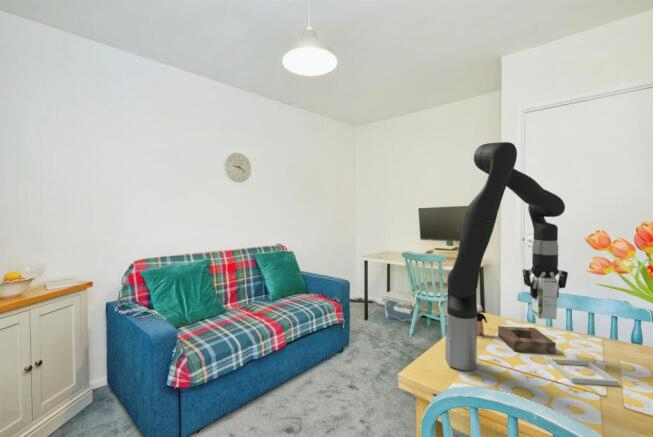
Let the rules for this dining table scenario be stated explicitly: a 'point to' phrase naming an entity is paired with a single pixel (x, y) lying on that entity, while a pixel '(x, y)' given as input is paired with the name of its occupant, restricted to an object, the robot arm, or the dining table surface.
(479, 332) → the grandmother figurine
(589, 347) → the dining table surface
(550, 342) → the socket block
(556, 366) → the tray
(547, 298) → the syrup box
